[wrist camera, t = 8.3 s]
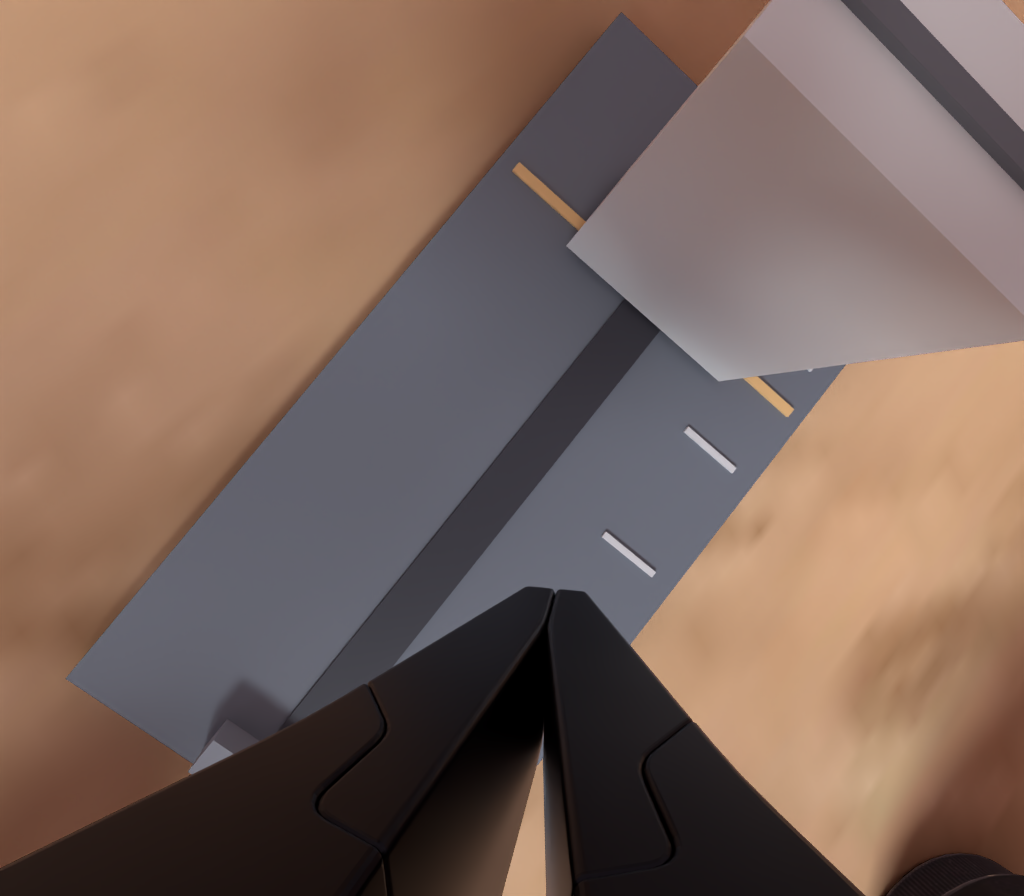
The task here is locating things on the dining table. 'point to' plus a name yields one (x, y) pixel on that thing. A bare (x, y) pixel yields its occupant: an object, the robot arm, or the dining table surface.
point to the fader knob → (832, 191)
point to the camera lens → (959, 878)
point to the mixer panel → (458, 453)
